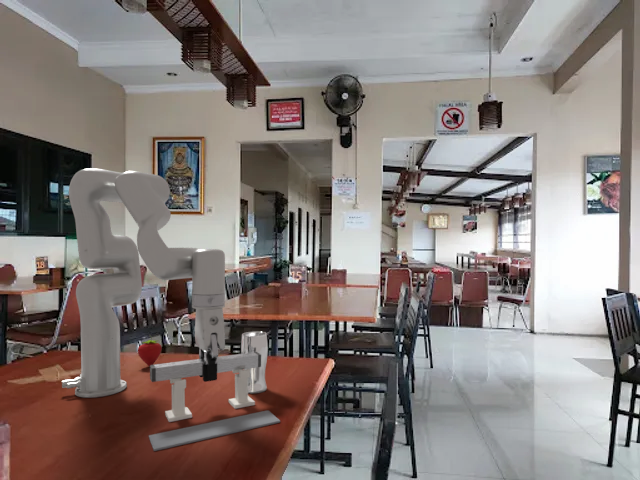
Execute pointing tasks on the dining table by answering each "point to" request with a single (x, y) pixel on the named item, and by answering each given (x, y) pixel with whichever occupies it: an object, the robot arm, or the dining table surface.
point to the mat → (211, 430)
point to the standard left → (178, 401)
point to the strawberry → (149, 351)
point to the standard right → (241, 390)
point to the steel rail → (196, 366)
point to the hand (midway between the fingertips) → (207, 377)
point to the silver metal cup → (259, 344)
